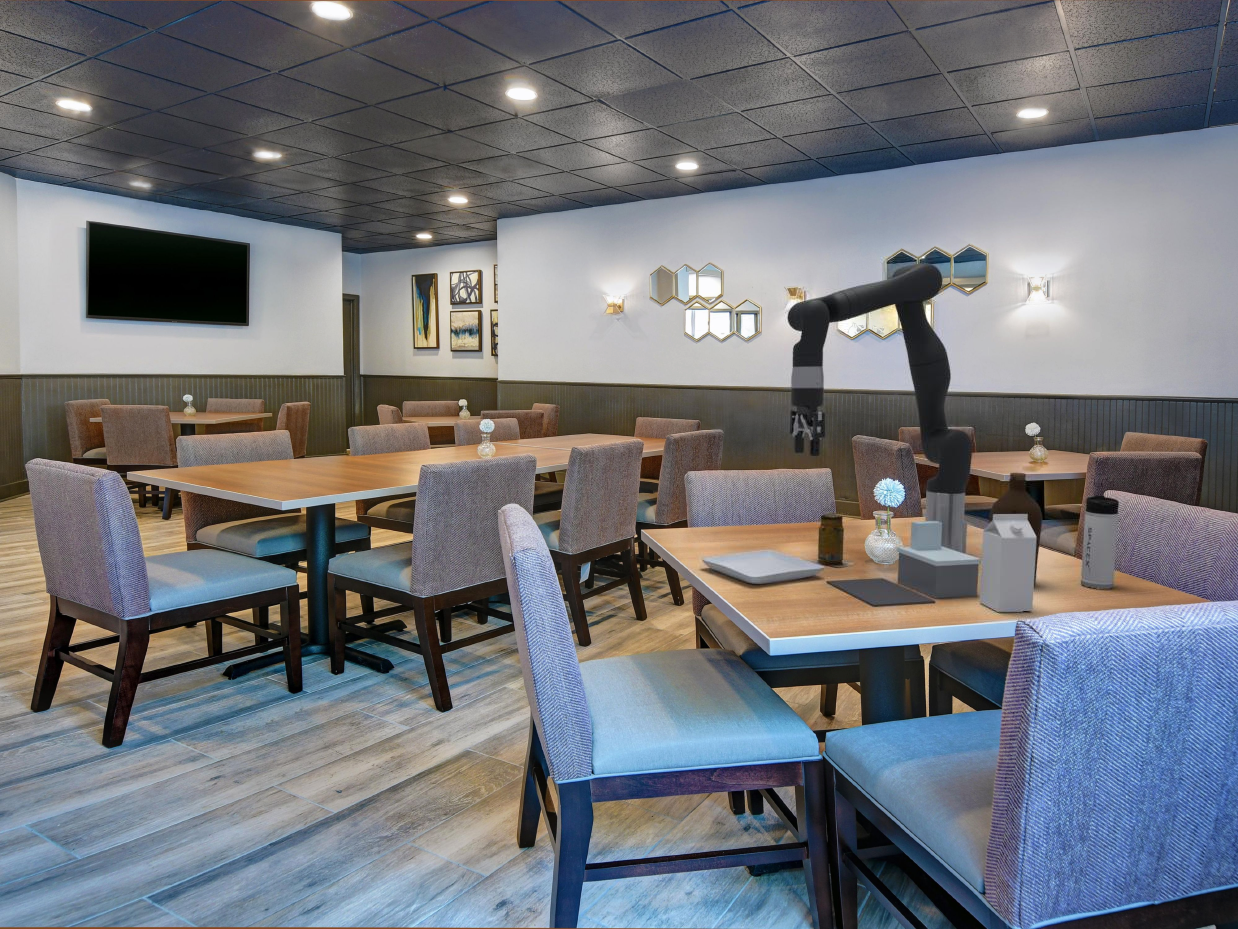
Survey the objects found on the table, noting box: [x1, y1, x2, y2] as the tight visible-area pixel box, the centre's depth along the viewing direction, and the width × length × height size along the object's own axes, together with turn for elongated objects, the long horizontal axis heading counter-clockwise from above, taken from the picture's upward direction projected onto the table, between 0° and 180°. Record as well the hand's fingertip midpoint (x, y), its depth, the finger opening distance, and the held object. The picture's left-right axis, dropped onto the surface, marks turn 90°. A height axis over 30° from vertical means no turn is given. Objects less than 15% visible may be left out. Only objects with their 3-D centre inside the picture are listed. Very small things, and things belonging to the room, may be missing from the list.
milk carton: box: [978, 514, 1037, 613], centre depth 162 cm, size 7×7×19 cm
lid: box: [896, 521, 982, 566], centre depth 177 cm, size 15×11×8 cm
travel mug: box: [1080, 495, 1120, 590], centre depth 180 cm, size 6×7×20 cm
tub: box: [897, 552, 980, 600], centre depth 177 cm, size 14×10×7 cm
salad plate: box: [700, 549, 826, 585], centre depth 191 cm, size 21×21×3 cm
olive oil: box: [989, 472, 1043, 587], centre depth 182 cm, size 11×11×25 cm
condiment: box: [809, 513, 855, 568], centre depth 202 cm, size 7×8×12 cm
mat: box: [826, 577, 936, 608], centre depth 174 cm, size 14×20×1 cm
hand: (806, 454), depth 194 cm, fingers open, 8 cm apart
